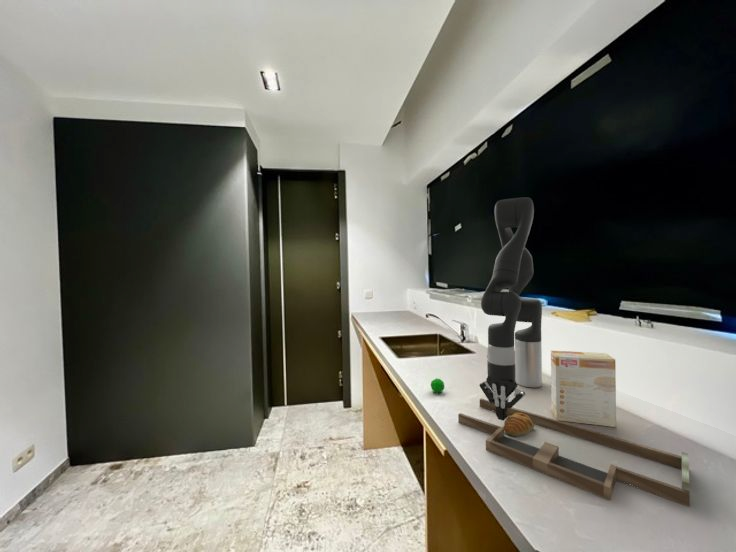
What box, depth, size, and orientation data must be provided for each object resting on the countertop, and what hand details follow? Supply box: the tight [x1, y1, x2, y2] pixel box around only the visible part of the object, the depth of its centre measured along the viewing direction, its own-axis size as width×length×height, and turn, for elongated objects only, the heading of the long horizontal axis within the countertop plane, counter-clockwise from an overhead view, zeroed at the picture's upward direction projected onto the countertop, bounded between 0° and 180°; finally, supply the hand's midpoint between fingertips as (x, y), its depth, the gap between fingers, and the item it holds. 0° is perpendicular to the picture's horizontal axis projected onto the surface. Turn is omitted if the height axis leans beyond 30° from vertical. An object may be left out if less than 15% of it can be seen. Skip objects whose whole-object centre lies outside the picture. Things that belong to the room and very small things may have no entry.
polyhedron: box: [430, 377, 445, 394], centre depth 116 cm, size 5×5×5 cm
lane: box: [457, 398, 691, 507], centre depth 78 cm, size 23×48×4 cm, turn 45°
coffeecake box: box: [550, 350, 617, 428], centre depth 93 cm, size 15×7×20 cm, turn 71°
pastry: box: [503, 413, 535, 437], centre depth 88 cm, size 9×7×4 cm
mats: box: [498, 435, 608, 483], centre depth 73 cm, size 8×23×1 cm, turn 45°
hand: (501, 419), depth 91 cm, fingers closed
